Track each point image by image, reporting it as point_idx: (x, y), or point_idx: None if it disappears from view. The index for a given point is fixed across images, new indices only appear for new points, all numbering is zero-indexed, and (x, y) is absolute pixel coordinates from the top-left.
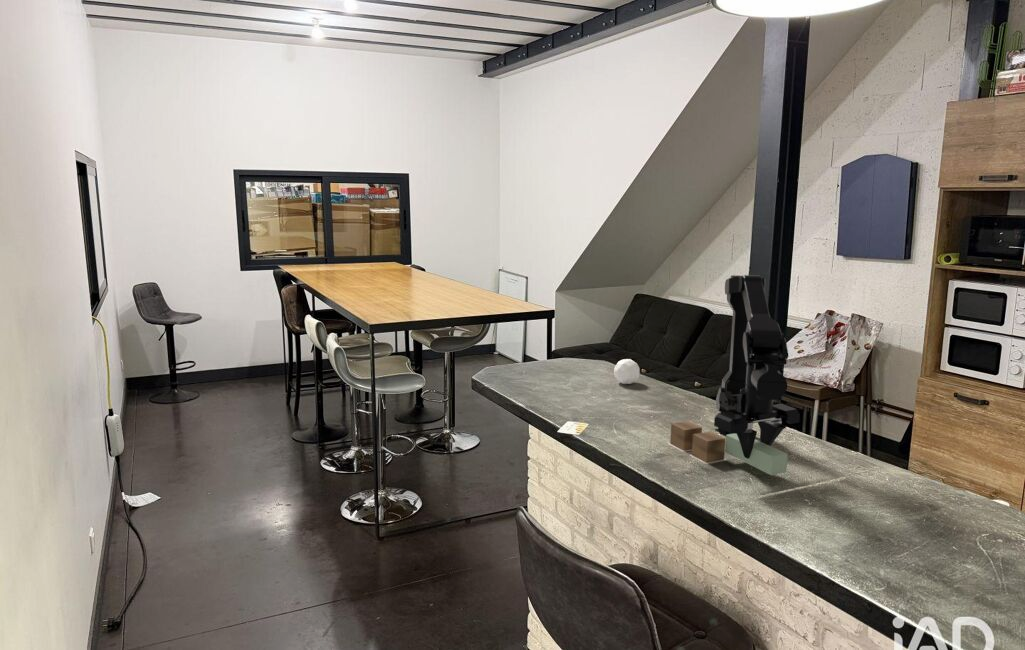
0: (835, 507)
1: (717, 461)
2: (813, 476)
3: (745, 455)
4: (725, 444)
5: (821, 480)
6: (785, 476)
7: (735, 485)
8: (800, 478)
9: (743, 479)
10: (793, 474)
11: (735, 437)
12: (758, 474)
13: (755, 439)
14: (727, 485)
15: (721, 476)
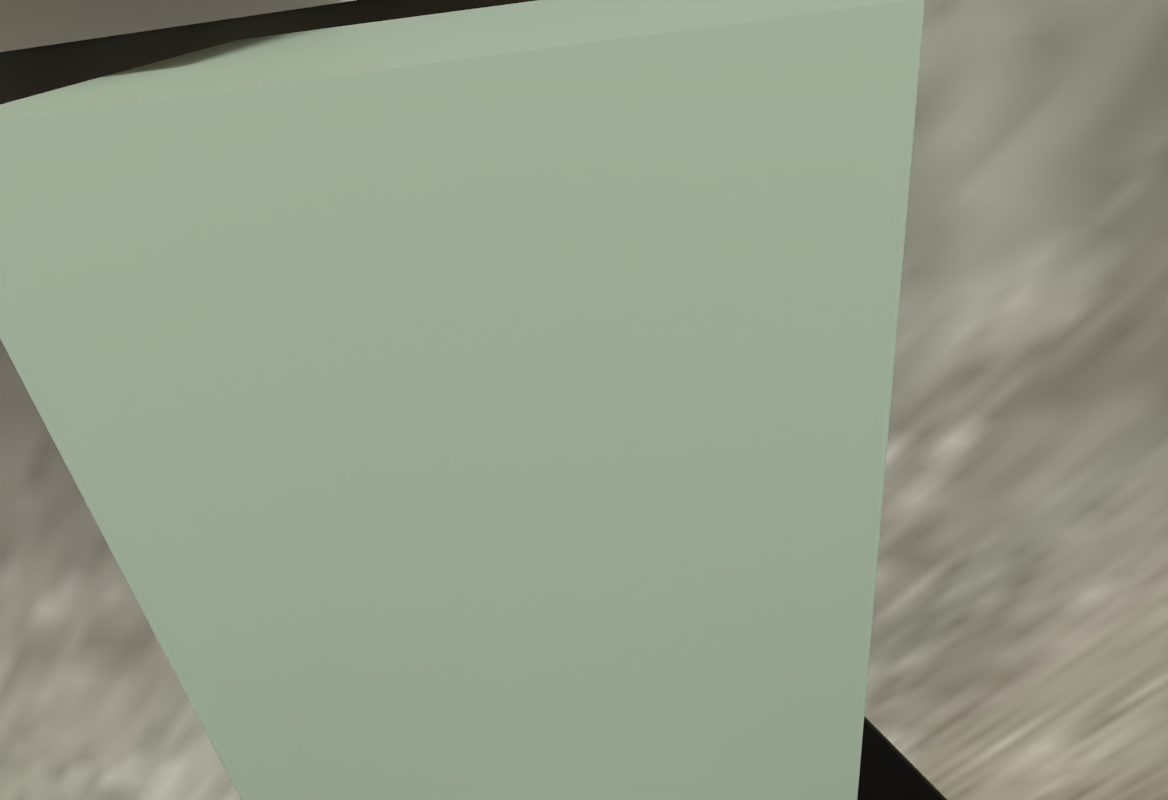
0: None
1: (133, 15)
2: (1154, 709)
3: None
4: (145, 65)
5: (1124, 784)
6: (872, 659)
7: (138, 732)
8: (979, 721)
9: None
10: (1009, 636)
11: (256, 548)
12: None
13: (849, 788)
14: (37, 718)
15: (41, 511)
